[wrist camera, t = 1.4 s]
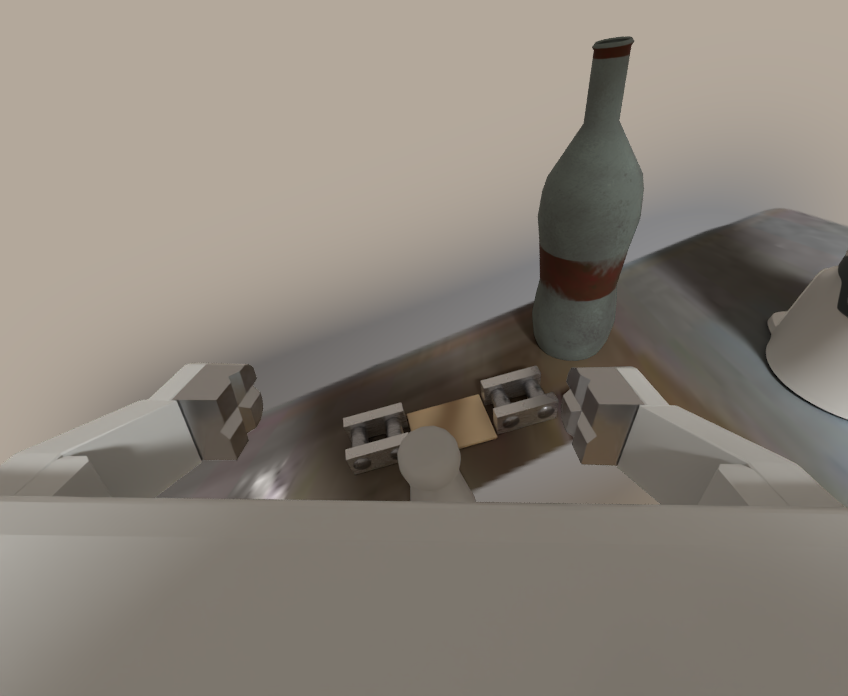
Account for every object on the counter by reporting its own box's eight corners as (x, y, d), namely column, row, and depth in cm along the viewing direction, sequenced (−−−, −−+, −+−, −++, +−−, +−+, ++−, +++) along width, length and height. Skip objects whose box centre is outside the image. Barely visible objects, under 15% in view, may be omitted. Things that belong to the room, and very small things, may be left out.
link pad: (478, 395, 44) (478, 394, 43) (497, 438, 39) (497, 436, 39) (407, 415, 43) (406, 413, 43) (418, 460, 39) (417, 459, 38)
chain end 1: (406, 417, 43) (401, 401, 41) (415, 458, 39) (410, 442, 37) (350, 433, 42) (343, 417, 40) (354, 475, 39) (346, 460, 37)
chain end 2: (534, 382, 44) (535, 364, 42) (556, 418, 40) (559, 401, 38) (481, 397, 43) (480, 380, 41) (498, 435, 39) (497, 418, 37)
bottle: (538, 368, 45) (563, 60, 25) (524, 320, 52) (535, 46, 31) (619, 360, 44) (716, 32, 24) (595, 312, 51) (654, 23, 30)
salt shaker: (411, 501, 36) (379, 422, 27) (468, 485, 36) (456, 402, 27) (423, 568, 31) (390, 499, 23) (488, 549, 32) (481, 474, 23)
